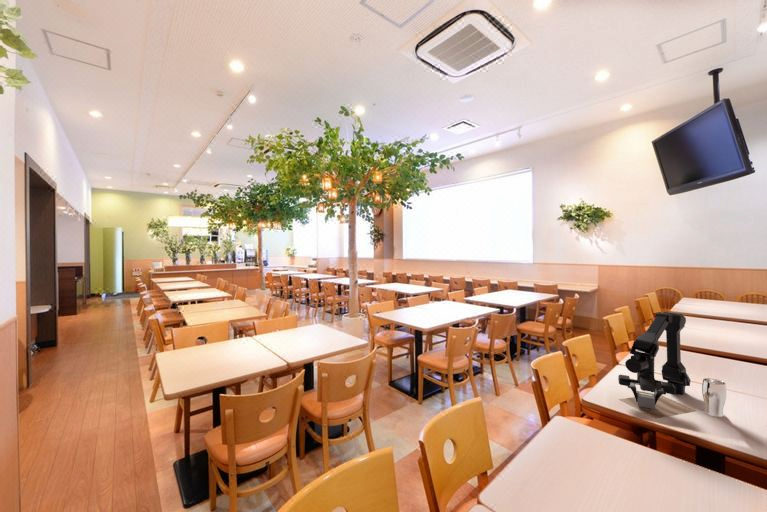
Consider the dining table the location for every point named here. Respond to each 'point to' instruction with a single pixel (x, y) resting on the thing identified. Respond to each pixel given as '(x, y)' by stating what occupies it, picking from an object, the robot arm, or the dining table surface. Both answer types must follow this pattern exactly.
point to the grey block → (645, 400)
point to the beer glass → (714, 396)
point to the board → (661, 407)
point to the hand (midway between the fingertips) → (645, 403)
